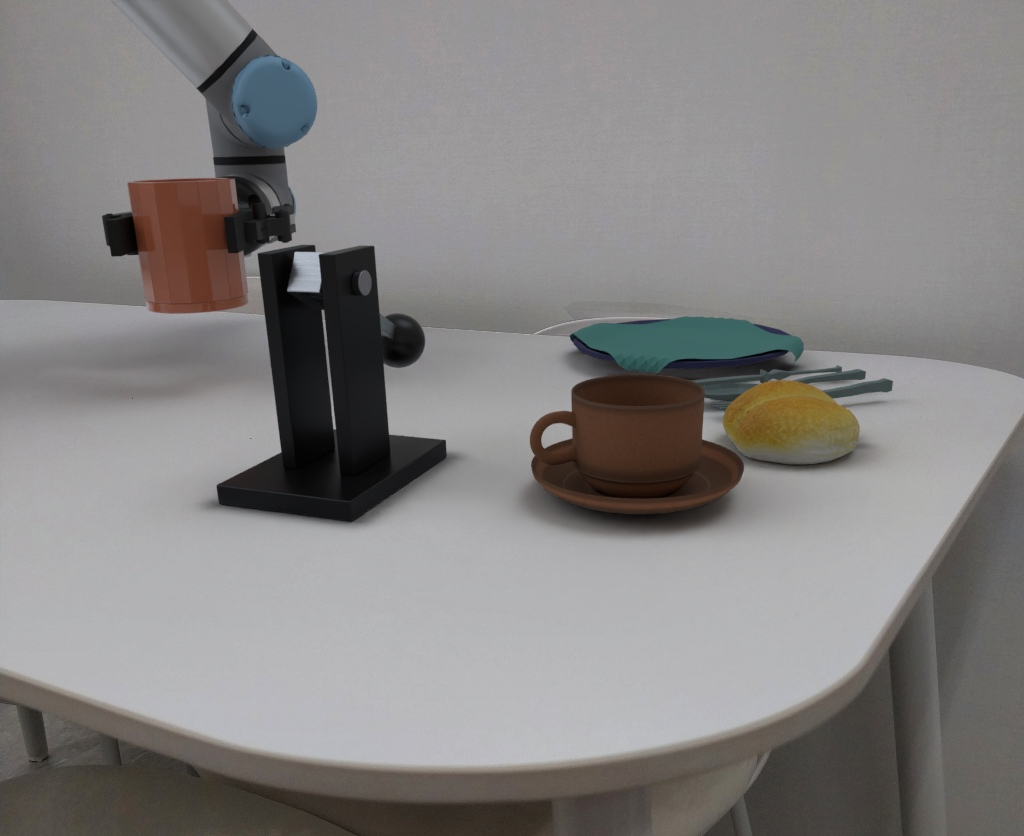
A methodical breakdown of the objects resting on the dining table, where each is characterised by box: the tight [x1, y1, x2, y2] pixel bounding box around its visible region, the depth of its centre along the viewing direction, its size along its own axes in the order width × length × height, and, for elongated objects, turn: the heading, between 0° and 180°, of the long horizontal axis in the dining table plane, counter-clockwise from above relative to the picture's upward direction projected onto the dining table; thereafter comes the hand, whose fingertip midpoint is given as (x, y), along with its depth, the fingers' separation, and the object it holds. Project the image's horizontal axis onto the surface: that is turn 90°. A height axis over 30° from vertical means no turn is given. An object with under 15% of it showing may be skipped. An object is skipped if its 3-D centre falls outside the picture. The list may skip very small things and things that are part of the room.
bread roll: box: [722, 379, 861, 465], centre depth 63 cm, size 8×9×4 cm
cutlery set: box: [569, 315, 894, 411], centre depth 83 cm, size 20×30×2 cm, turn 16°
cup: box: [126, 177, 249, 315], centre depth 80 cm, size 8×8×10 cm
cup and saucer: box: [529, 373, 745, 515], centre depth 55 cm, size 12×12×6 cm
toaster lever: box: [287, 251, 426, 369], centre depth 60 cm, size 13×4×4 cm
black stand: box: [215, 244, 448, 522], centre depth 57 cm, size 12×9×14 cm
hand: (172, 236), depth 75 cm, fingers closed on cup, 8 cm apart
